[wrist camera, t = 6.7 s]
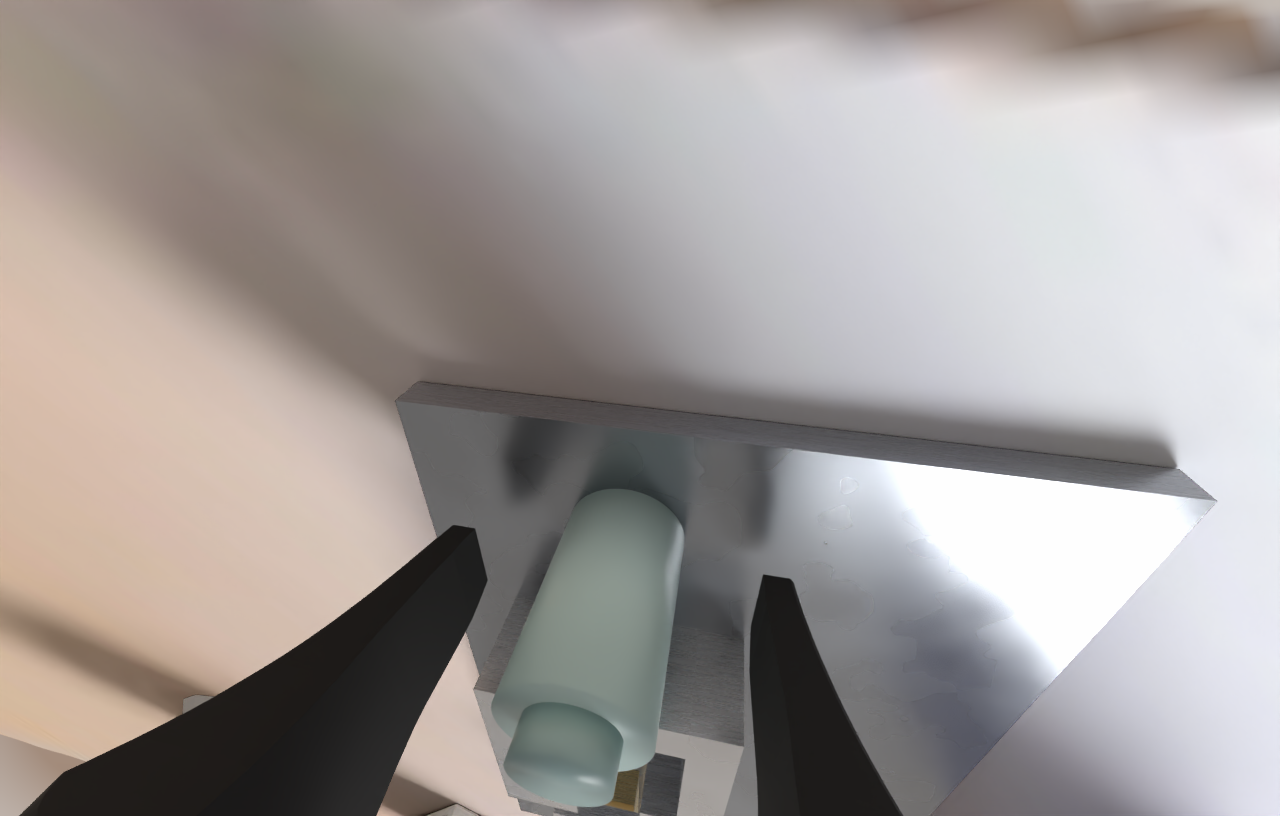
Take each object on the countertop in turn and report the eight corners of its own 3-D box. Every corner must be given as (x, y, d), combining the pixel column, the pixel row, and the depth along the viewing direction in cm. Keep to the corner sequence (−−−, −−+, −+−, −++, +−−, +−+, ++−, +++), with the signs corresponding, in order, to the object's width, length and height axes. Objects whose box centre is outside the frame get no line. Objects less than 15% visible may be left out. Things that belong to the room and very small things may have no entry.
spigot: (688, 498, 12) (651, 760, 7) (680, 580, 14) (645, 836, 9) (567, 480, 12) (454, 717, 8) (573, 562, 14) (486, 796, 9)
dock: (1178, 469, 10) (1384, 642, 7) (854, 867, 25) (871, 984, 22) (417, 381, 13) (304, 477, 10) (527, 789, 28) (497, 882, 24)
